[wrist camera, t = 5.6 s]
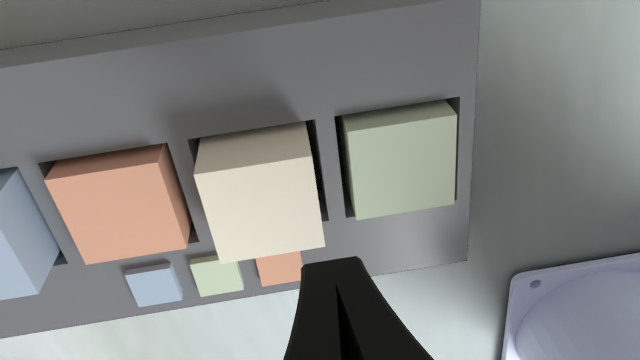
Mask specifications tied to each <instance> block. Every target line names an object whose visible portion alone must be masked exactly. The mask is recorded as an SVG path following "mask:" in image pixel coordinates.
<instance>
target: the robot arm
mask: <svg viewBox="0 0 640 360" xmlns="http://www.w3.org/2000/svg"><path fill="white" fill-rule="evenodd" d="M532 281H533V282H532ZM283 360H434V359H433V358H432V357H431V356H430V355H429V354H428V352H427V351H426V350H425V349H424V348H423V347H422V346H421V344H420V343H419V342H418V341H417V340H416V339H415V337H414V336H413V335H412V334H411V333H410V331H409V330H408V329H407V328H406V326H405V325H404V324H403V323H402V321H401V320H400V319H399V317H398V316H397V315H396V313H395V312H394V311H393V309H392V308H391V307H390V305H389V304H388V303H387V301H386V300H385V298H384V297H383V296H382V294H381V292H380V291H379V289H378V288H377V286H376V285H375V283H374V282H373V280H372V279H371V277H370V275H369V273H368V272H367V270H366V268H365V266H364V264H363V262H362V260H361V259H360V258H359V257H357V256H352V257H346V258H340V259H333V260H327V261H321V262H315V263H308V264H305V265H304V266H303V267H302V268H301V283H300V292H299V299H298V304H297V310H296V314H295V319H294V323H293V327H292V331H291V336H290V339H289V343H288V346H287V350H286V353H285V356H284V359H283ZM501 360H640V253H634V254H628V255H622V256H616V257H610V258H604V259H599V260H593V261H587V262H581V263H575V264H569V265H563V266H557V267H551V268H545V269H539V270H533V271H527V272H522V273H518V274H517V275H515V276H514V277H513V278H512V280H511V283H510V291H509V300H508V308H507V317H506V325H505V334H504V342H503V351H502V359H501Z"/></svg>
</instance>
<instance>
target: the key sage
mask: <svg viewBox="0 0 640 360" xmlns="http://www.w3.org/2000/svg"><path fill="white" fill-rule="evenodd" d="M338 117H339V126H340V136H341V145H342V154H343V163H344V172H345V181H346V186H347V189H348V193H349V196H350V200H351V203H352V207H353V210H354V214H355V217H356V220H362V219H368V218H374V217H380V216H386V215H392V214H398V213H405V212H411V211H417V210H423V209H429V208H435V207H441V206H447V205H453V204H454V197H455V165H456V133H457V114H456V113H455V111H454V110H453V109H452V108H451V106H450V105H449V104H448V103H447V101H446V100H445V99H440V100H434V101H427V102H421V103H415V104H408V105H402V106H396V107H389V108H383V109H377V110H370V111H364V112H358V113H351V114H345V115H339V116H338Z"/></svg>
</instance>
